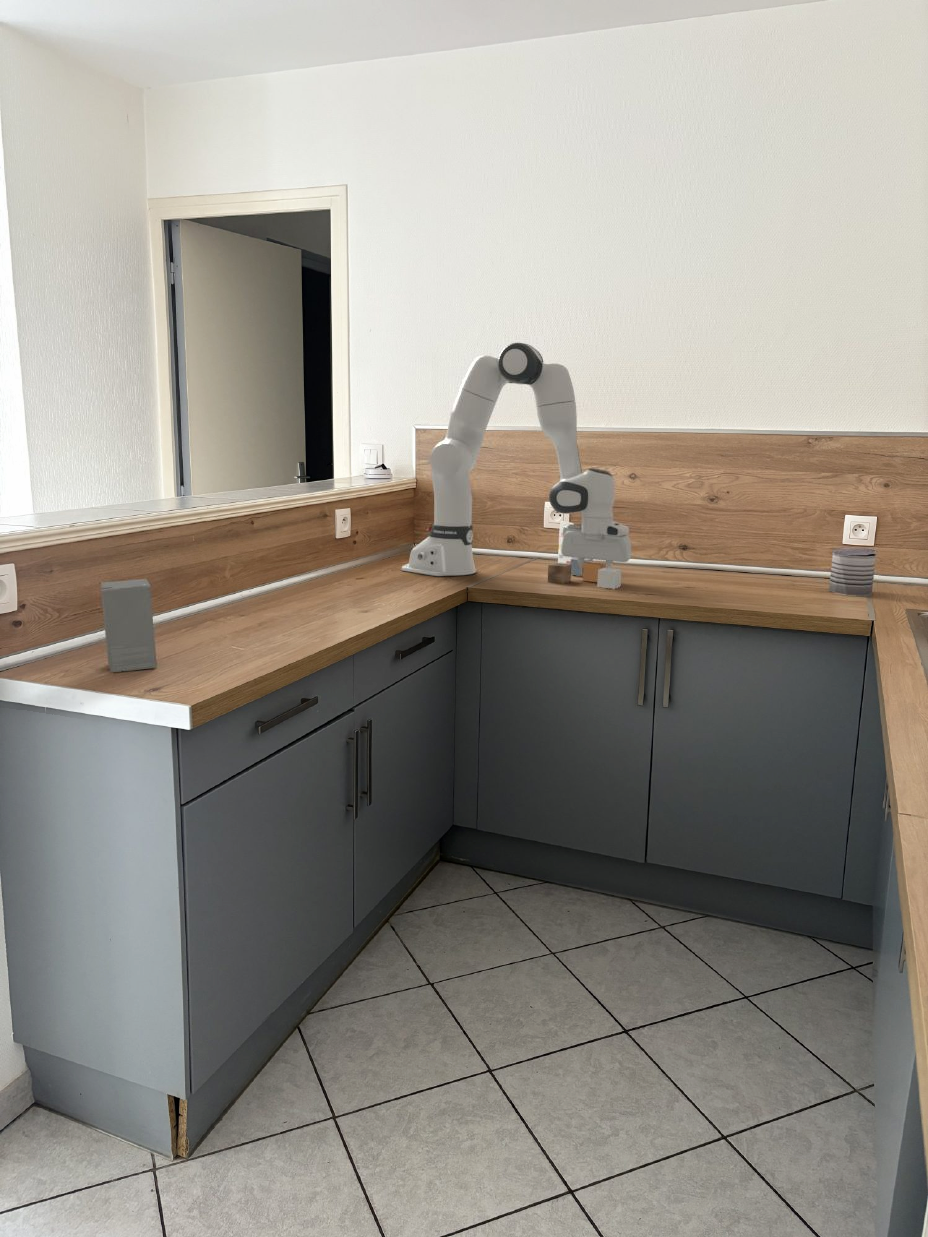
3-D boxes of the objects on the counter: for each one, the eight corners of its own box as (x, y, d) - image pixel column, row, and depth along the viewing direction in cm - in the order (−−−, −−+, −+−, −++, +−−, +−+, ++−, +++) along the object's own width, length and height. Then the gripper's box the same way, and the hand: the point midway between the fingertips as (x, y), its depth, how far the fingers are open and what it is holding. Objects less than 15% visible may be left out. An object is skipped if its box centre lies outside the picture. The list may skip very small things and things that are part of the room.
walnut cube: (547, 582, 267) (548, 564, 266) (554, 579, 271) (555, 562, 270) (563, 584, 264) (564, 566, 263) (570, 581, 269) (571, 564, 268)
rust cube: (582, 580, 269) (583, 563, 268) (589, 578, 273) (589, 561, 272) (599, 582, 267) (600, 565, 266) (605, 579, 271) (606, 562, 270)
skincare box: (153, 660, 176) (149, 577, 172) (157, 670, 169) (153, 584, 166) (105, 664, 172) (100, 579, 169) (107, 674, 166) (102, 586, 163)
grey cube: (597, 587, 260) (598, 569, 259) (603, 585, 264) (604, 567, 263) (614, 589, 257) (615, 571, 256) (620, 586, 262) (621, 569, 261)
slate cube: (570, 575, 278) (570, 559, 277) (576, 573, 283) (577, 557, 281) (585, 577, 276) (586, 560, 275) (591, 575, 280) (592, 558, 279)
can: (876, 597, 253) (881, 553, 250) (832, 595, 255) (836, 551, 253) (867, 590, 264) (872, 547, 261) (825, 587, 266) (829, 545, 263)
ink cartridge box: (585, 570, 287) (587, 522, 284) (571, 571, 285) (573, 523, 282) (570, 566, 295) (572, 519, 292) (556, 567, 293) (558, 520, 290)
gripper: (558, 524, 269) (556, 572, 272) (627, 530, 259) (624, 579, 262) (567, 522, 274) (565, 569, 277) (634, 528, 265) (631, 576, 268)
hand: (594, 574), depth 270 cm, fingers closed on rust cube, 5 cm apart
